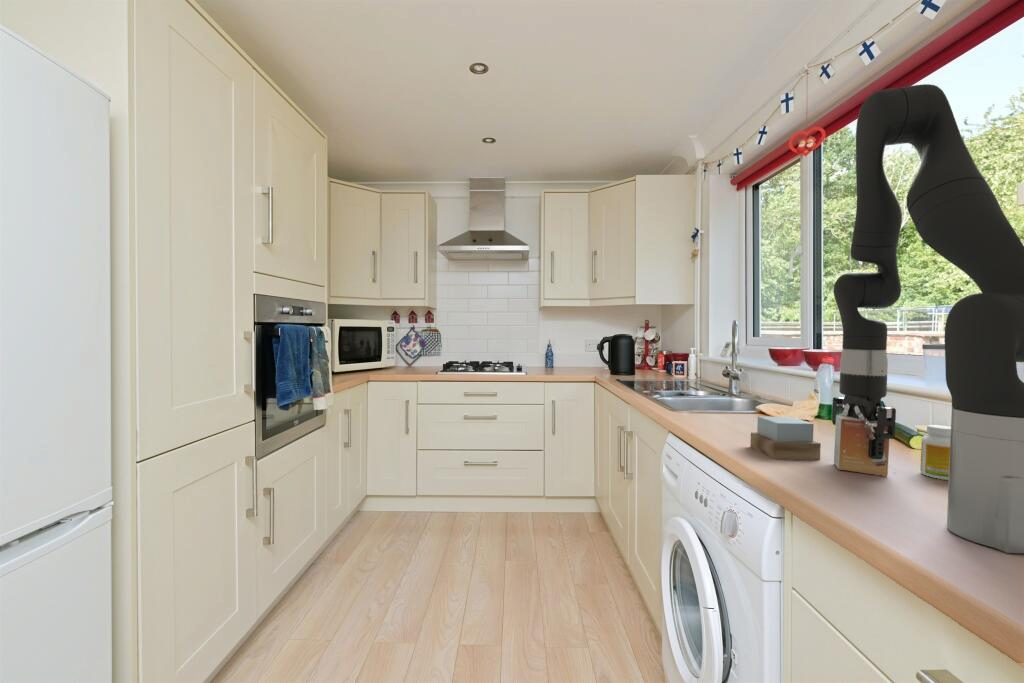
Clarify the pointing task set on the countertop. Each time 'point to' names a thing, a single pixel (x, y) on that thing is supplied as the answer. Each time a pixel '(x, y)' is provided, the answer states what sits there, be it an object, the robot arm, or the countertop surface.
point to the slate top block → (785, 429)
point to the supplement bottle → (936, 452)
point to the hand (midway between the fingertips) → (860, 453)
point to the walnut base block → (785, 448)
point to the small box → (857, 448)
